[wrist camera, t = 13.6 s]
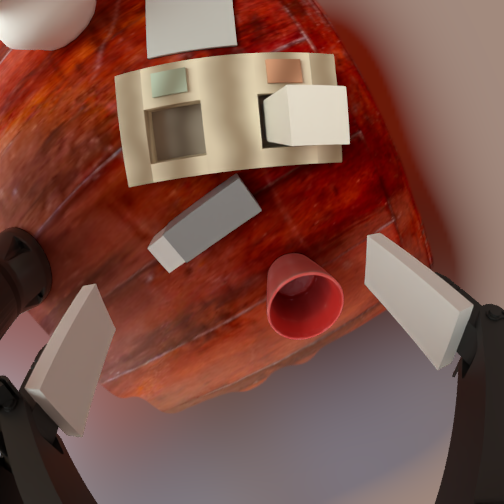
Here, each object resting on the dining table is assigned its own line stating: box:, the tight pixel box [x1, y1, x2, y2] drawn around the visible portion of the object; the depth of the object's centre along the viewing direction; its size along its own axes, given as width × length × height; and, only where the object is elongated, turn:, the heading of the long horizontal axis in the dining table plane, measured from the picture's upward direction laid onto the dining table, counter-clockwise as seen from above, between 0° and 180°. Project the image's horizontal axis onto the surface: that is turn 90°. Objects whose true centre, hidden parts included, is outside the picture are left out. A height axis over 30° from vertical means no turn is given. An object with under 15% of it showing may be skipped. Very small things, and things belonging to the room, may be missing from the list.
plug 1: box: [147, 173, 262, 273], centre depth 38 cm, size 15×5×5 cm, turn 124°
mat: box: [146, 0, 237, 59], centre depth 27 cm, size 12×12×1 cm
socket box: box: [115, 52, 342, 187], centre depth 32 cm, size 26×14×6 cm, turn 95°
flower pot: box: [267, 253, 344, 340], centre depth 41 cm, size 11×11×10 cm
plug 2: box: [261, 85, 350, 146], centre depth 27 cm, size 5×5×15 cm
